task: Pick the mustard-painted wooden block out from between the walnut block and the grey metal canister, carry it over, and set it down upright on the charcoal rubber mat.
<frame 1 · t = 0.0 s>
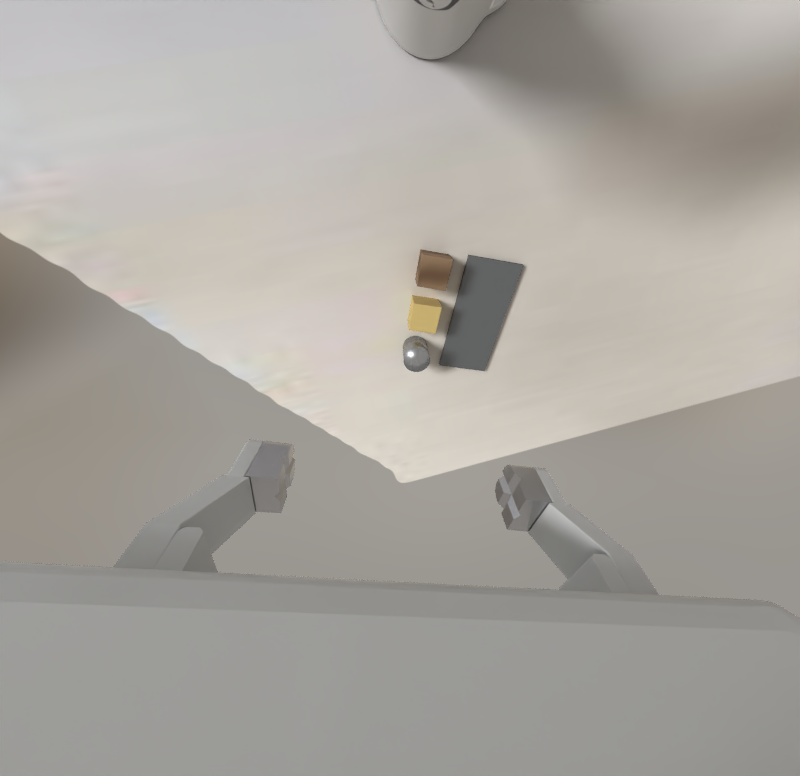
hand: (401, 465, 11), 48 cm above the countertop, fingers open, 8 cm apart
walnut block: (431, 266, 53), on the countertop
metal canister: (414, 346, 61), on the countertop
mustard block: (422, 309, 57), on the countertop
rubber mat: (476, 318, 58), on the countertop
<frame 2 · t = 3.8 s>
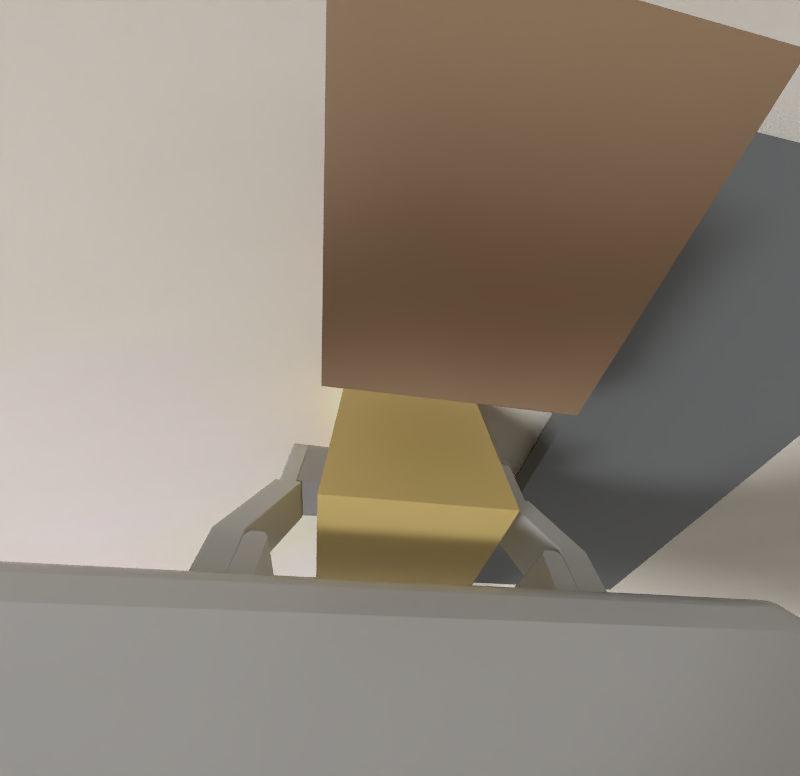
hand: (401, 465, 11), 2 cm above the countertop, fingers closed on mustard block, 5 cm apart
walnut block: (446, 227, 8), on the countertop
mustard block: (400, 435, 13), on the countertop, touching gripper
rubber mat: (631, 460, 14), on the countertop
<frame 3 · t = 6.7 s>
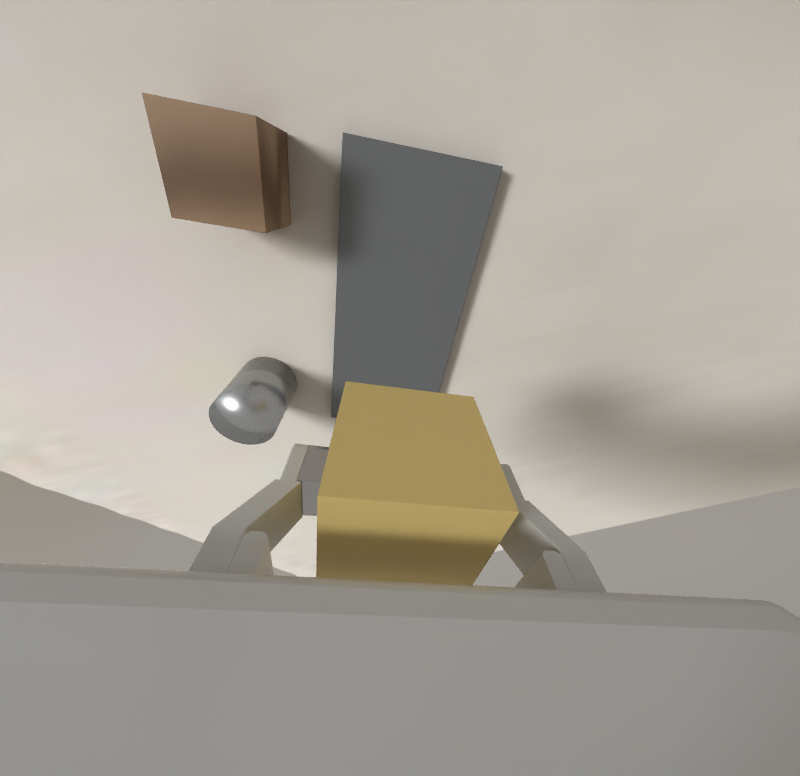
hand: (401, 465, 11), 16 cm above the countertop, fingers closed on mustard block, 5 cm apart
walnut block: (250, 174, 19), on the countertop
metal canister: (269, 380, 28), on the countertop
mustard block: (400, 436, 13), point 14 cm above the countertop, touching gripper
rubber mat: (397, 317, 25), on the countertop
when the fingers open (4 cm above the countertop, at t = 9.4 s): mustard block drops 1 cm, resting on rubber mat.
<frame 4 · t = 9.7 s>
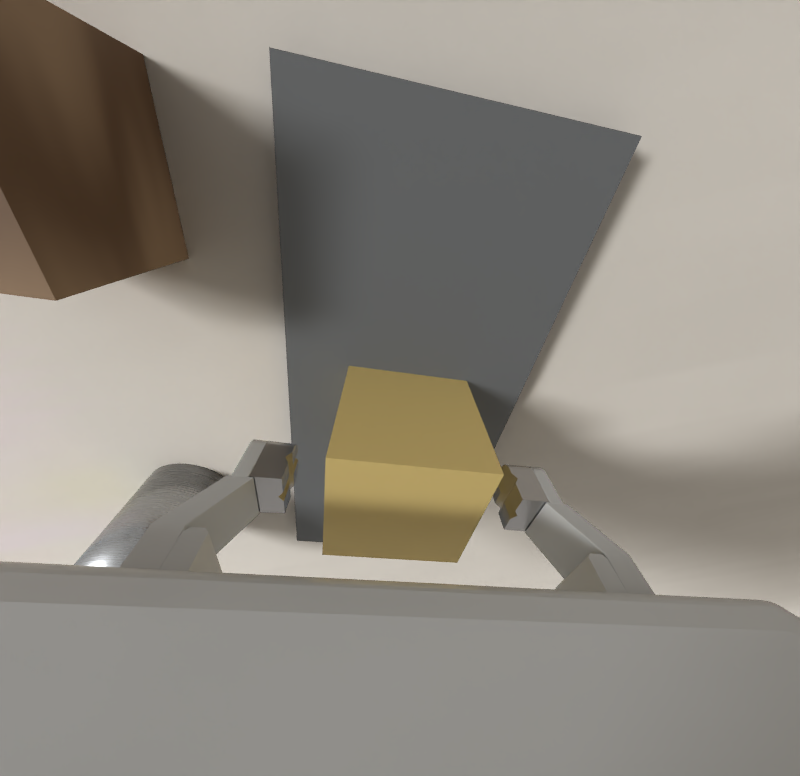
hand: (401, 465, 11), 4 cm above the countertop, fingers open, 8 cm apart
walnut block: (82, 156, 9), on the countertop
metal canister: (196, 492, 17), on the countertop
mustard block: (399, 419, 14), point 1 cm above the countertop, touching rubber mat
rubber mat: (399, 408, 14), on the countertop
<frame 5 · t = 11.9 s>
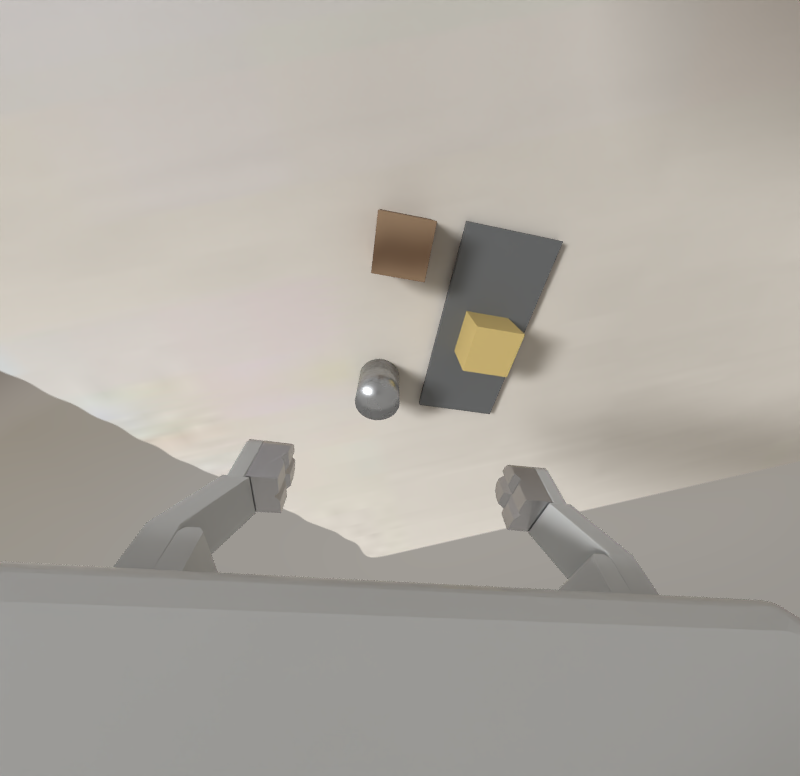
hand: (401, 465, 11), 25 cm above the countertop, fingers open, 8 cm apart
walnut block: (401, 242, 30), on the countertop
metal canister: (379, 376, 38), on the countertop
mustard block: (480, 335, 35), point 1 cm above the countertop, touching rubber mat
rubber mat: (479, 332, 35), on the countertop
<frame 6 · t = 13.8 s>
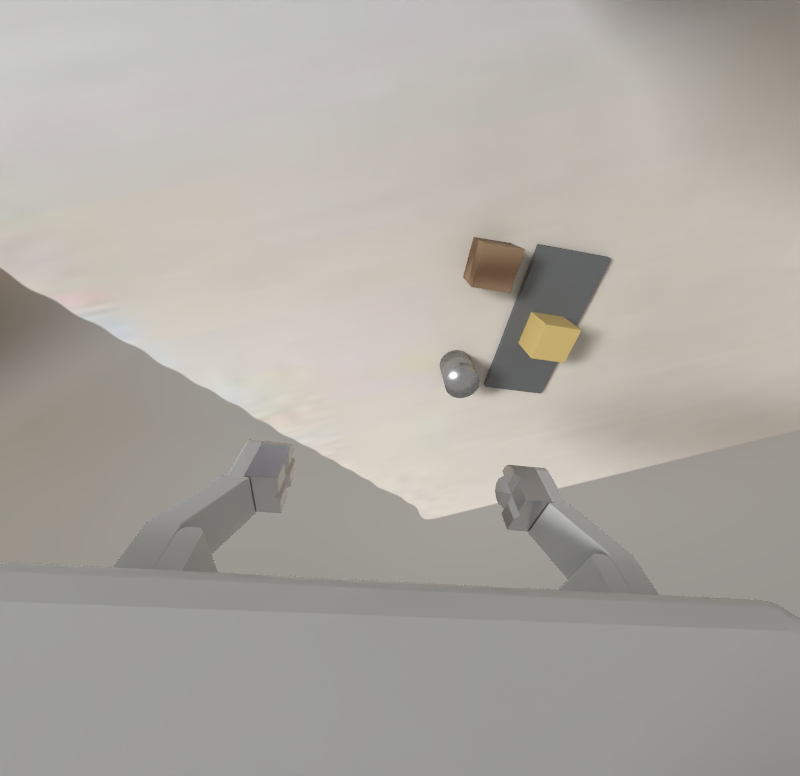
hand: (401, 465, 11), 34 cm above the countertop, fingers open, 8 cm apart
walnut block: (486, 260, 39), on the countertop
metal canister: (455, 364, 48), on the countertop
mustard block: (540, 330, 44), point 1 cm above the countertop, touching rubber mat
rubber mat: (538, 328, 45), on the countertop
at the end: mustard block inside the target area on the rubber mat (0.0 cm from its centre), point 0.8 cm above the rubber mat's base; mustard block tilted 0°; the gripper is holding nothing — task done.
